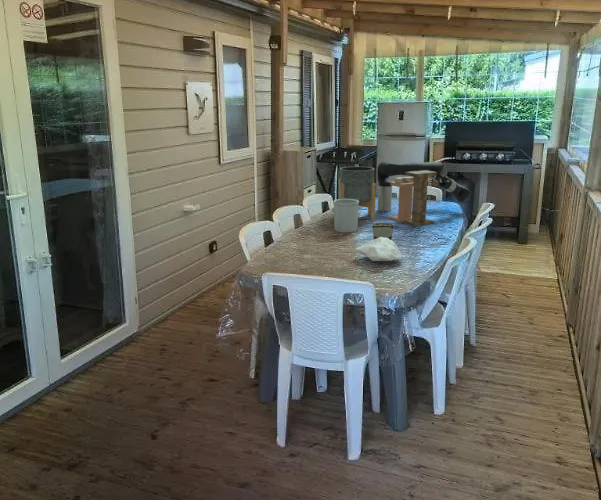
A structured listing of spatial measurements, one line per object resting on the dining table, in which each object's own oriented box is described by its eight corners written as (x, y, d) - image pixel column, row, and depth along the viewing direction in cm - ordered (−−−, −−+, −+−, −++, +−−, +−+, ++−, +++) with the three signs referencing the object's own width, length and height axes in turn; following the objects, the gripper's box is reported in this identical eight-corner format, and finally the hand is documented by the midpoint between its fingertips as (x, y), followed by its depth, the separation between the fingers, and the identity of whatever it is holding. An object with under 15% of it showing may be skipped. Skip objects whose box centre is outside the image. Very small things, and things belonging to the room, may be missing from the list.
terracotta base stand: (408, 216, 364) (410, 180, 358) (420, 219, 354) (422, 182, 348) (388, 218, 357) (390, 181, 351) (400, 222, 347) (401, 184, 340)
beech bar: (426, 179, 359) (427, 175, 358) (430, 180, 356) (430, 175, 355) (394, 182, 347) (394, 178, 346) (397, 183, 344) (398, 178, 343)
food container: (393, 240, 304) (393, 222, 302) (394, 243, 298) (394, 225, 296) (370, 239, 306) (371, 222, 303) (371, 242, 300) (371, 224, 297)
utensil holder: (356, 233, 320) (357, 203, 316) (331, 232, 323) (331, 202, 319) (359, 227, 334) (360, 199, 330) (335, 226, 337) (335, 198, 332)
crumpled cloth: (347, 264, 257) (350, 245, 254) (360, 244, 290) (363, 228, 287) (397, 275, 252) (401, 256, 249) (404, 254, 285) (407, 237, 282)
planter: (375, 221, 351) (376, 170, 343) (340, 221, 352) (340, 171, 343) (371, 213, 373) (372, 166, 364) (338, 213, 373) (338, 166, 364)
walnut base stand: (423, 220, 351) (426, 170, 343) (433, 223, 343) (436, 172, 334) (403, 223, 344) (405, 172, 336) (413, 226, 336) (416, 173, 327)
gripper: (452, 191, 359) (436, 180, 350) (437, 187, 371) (422, 177, 362) (457, 180, 359) (442, 169, 350) (442, 177, 371) (427, 166, 362)
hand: (432, 173), depth 356 cm, fingers open, 8 cm apart
